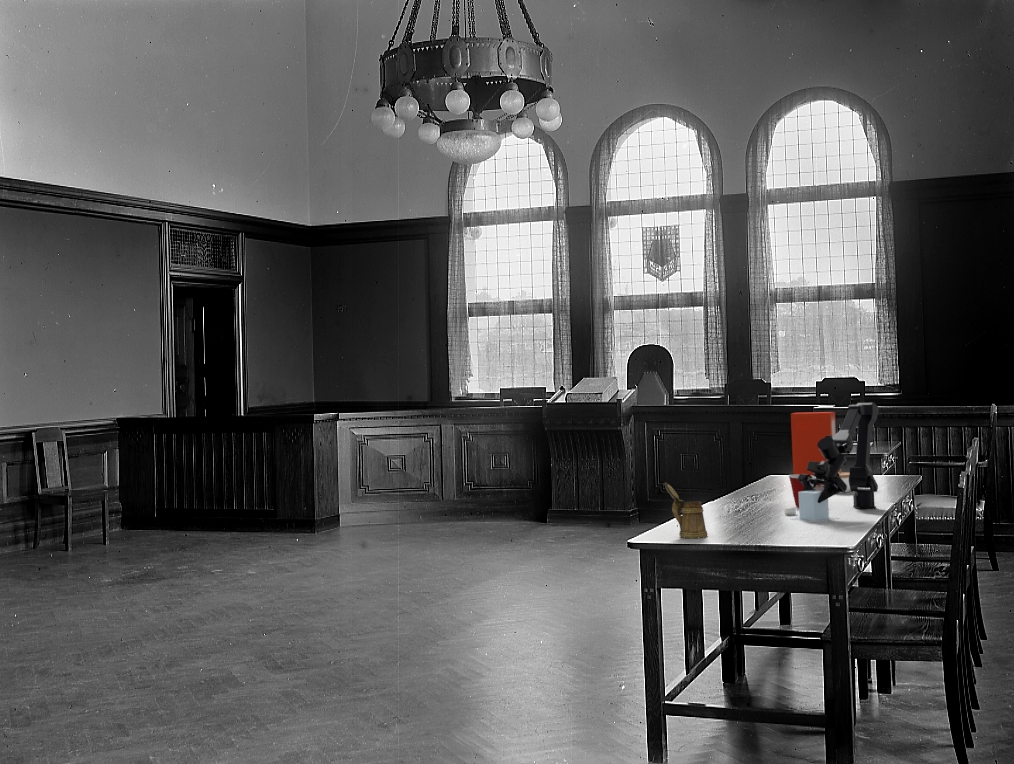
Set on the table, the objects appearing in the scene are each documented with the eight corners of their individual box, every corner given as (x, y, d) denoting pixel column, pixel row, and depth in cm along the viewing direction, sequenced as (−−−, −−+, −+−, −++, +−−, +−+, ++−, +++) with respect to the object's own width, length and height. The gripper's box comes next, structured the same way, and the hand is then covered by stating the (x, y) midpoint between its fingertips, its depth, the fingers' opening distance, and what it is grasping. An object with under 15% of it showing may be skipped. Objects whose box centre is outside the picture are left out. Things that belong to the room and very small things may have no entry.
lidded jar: (826, 493, 450) (825, 471, 450) (829, 490, 460) (828, 468, 459) (853, 493, 446) (852, 471, 445) (855, 490, 456) (854, 468, 455)
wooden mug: (669, 534, 368) (667, 480, 368) (709, 534, 363) (707, 480, 363) (663, 538, 360) (661, 484, 359) (704, 538, 355) (702, 483, 354)
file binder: (799, 483, 489) (796, 412, 488) (838, 484, 479) (835, 411, 479) (793, 485, 482) (790, 413, 481) (832, 486, 472) (829, 412, 472)
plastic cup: (820, 507, 411) (818, 476, 411) (790, 508, 413) (789, 476, 413) (817, 504, 421) (816, 473, 421) (788, 504, 424) (787, 473, 423)
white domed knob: (793, 514, 397) (793, 507, 397) (797, 516, 393) (797, 508, 393) (783, 515, 397) (782, 507, 397) (786, 516, 393) (786, 509, 393)
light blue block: (814, 516, 387) (812, 489, 387) (828, 518, 381) (827, 491, 381) (799, 518, 384) (798, 491, 384) (814, 520, 378) (813, 493, 378)
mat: (813, 516, 391) (813, 515, 391) (839, 519, 380) (839, 518, 380) (789, 520, 385) (789, 518, 385) (814, 523, 374) (814, 522, 374)
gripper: (799, 451, 392) (778, 485, 387) (839, 453, 376) (817, 488, 371) (816, 471, 396) (795, 504, 391) (856, 474, 380) (835, 509, 375)
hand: (810, 501), depth 382 cm, fingers closed on light blue block, 7 cm apart
